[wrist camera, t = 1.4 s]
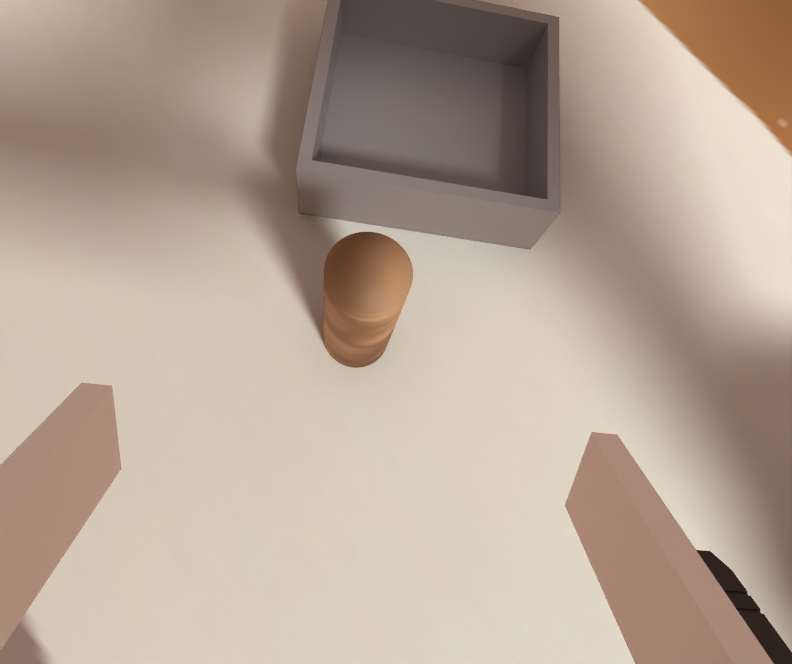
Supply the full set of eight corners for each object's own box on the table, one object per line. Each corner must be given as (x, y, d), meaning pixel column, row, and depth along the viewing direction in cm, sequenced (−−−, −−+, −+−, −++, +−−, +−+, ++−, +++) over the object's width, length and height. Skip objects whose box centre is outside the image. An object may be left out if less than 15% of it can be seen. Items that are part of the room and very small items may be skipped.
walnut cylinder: (390, 311, 42) (416, 238, 30) (384, 371, 40) (408, 318, 29) (328, 302, 41) (330, 225, 30) (319, 362, 39) (318, 306, 28)
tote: (532, 70, 52) (558, 17, 46) (530, 249, 45) (560, 212, 39) (332, 31, 50) (333, -29, 44) (299, 212, 43) (295, 169, 38)
